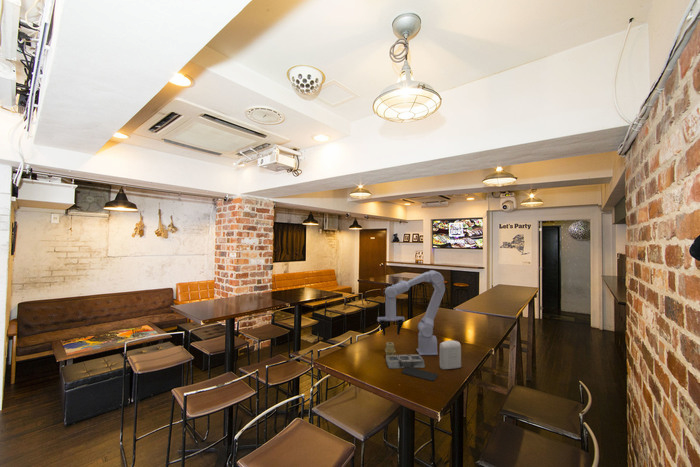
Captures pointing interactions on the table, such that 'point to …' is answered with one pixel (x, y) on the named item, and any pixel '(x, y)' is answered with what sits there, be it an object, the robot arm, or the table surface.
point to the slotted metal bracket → (404, 361)
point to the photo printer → (450, 354)
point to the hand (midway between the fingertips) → (391, 334)
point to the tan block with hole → (390, 348)
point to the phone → (420, 373)
